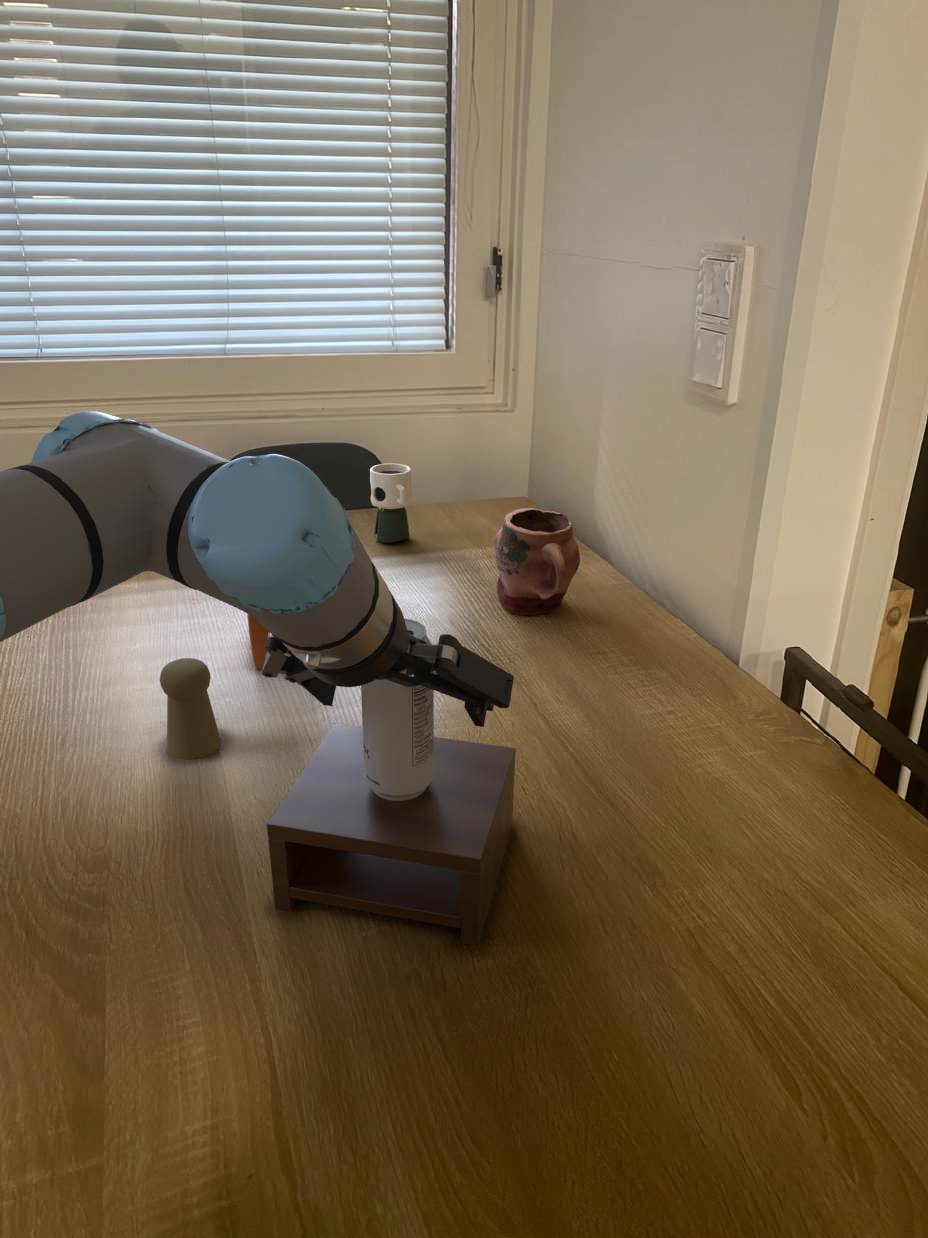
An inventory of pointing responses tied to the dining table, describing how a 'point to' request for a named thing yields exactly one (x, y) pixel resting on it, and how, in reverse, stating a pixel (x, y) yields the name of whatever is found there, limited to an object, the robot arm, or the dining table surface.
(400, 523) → the character mug
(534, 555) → the pink ceramic mug
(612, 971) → the dining table surface
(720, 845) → the dining table surface
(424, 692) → the energy drink can
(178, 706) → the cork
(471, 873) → the shelf
